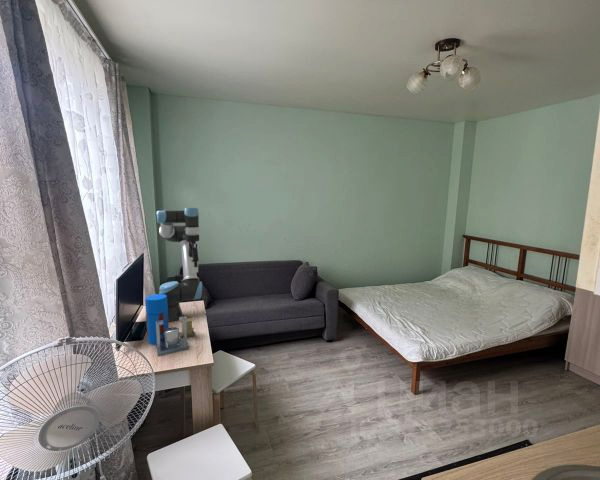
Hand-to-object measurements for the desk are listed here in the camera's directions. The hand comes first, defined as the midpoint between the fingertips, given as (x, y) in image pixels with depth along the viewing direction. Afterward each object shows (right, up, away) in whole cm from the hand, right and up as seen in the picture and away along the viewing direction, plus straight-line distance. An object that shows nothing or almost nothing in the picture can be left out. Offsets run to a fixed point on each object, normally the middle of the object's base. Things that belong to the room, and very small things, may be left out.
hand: (193, 270), depth 180 cm
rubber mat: (-2, -38, -4) cm, 38 cm away
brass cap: (-2, -37, -4) cm, 37 cm away
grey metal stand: (-5, -40, -19) cm, 44 cm away
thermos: (-16, -38, -10) cm, 43 cm away
